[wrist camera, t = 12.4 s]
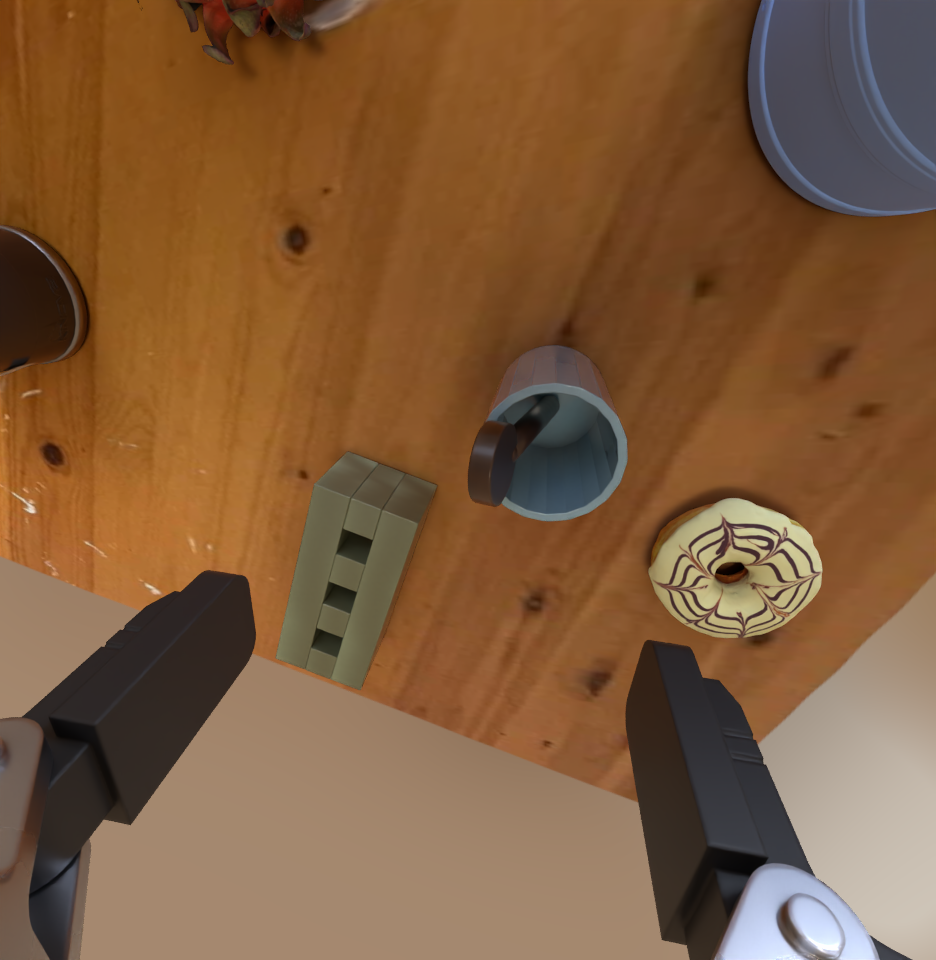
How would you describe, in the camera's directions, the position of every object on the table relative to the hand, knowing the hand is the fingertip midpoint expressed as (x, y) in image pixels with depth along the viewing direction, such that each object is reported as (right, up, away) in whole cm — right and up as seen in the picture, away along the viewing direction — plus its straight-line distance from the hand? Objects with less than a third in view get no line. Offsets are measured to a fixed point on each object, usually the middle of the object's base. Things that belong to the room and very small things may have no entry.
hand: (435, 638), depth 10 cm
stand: (-8, -3, +32) cm, 33 cm away
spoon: (+6, +8, +23) cm, 25 cm away
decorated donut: (+20, -2, +27) cm, 33 cm away
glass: (+6, +9, +24) cm, 26 cm away
